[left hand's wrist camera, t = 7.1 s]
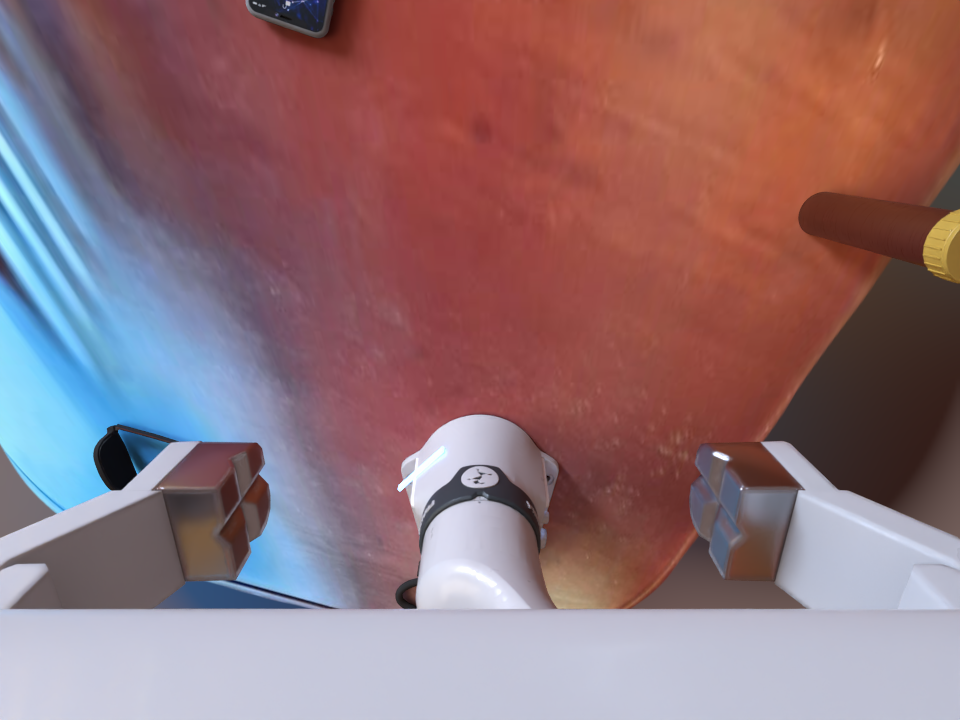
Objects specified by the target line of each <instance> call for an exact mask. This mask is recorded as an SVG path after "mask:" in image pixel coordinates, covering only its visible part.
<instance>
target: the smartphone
mask: <svg viewBox="0 0 960 720" xmlns="http://www.w3.org/2000/svg"><path fill="white" fill-rule="evenodd" d="M334 2H335V0H246V5H247V8H248V10H249V12H250V13H251V14H252V15H253V16H255V17H257V18H259V19H262V20H265V21H268V22H271V23H274V24H277V25H280V26H282V27H285V28H288V29H291V30H294V31H297V32H300V33H303V34H306V35H309V36H311V37H314V38H322V37H324V36H325V35H326V34H327V33H328V30H329V26H330V20H331V16H332V14H333V4H334Z"/></svg>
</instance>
